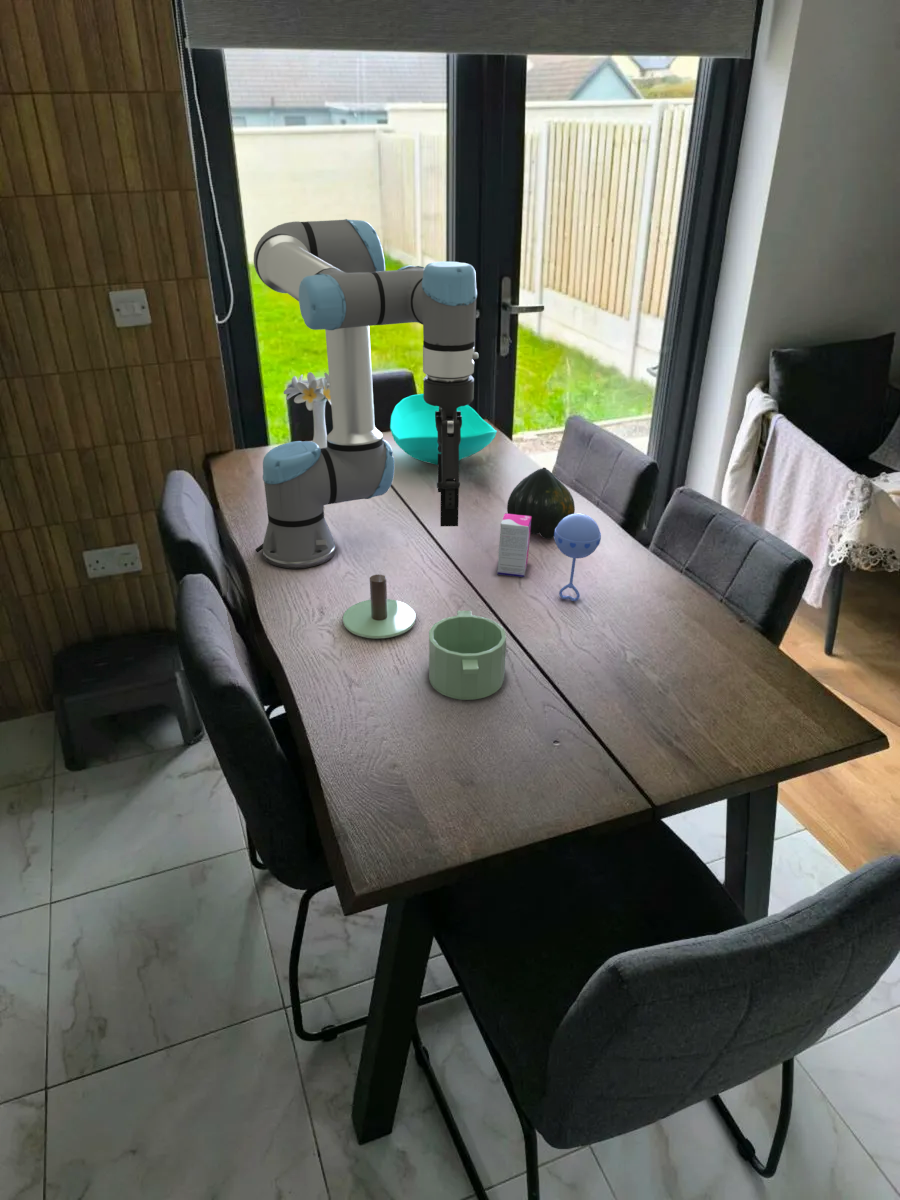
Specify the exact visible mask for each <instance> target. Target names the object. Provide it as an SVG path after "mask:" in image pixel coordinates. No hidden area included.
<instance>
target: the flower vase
mask: <svg viewBox="0 0 900 1200" xmlns="http://www.w3.org/2000/svg"><path fill="white" fill-rule="evenodd" d="M323 375H324V377H320V378H319V379H316V376H315V375H314V373H313V372H312V371H310V372H307V376H306V378H307V382H303V376H304V375H303V374H301V375H300V376H299V377H298V379H297V376H295V375H293V377H292V378H291V385H292V386H290V387H287V388H286V389H285V390H284V391H283V394H284V395H287V396H286V400H287V401H288V400H290V399H291V398H292V397H293V396H295V397H294V399H293V402H294V403H295V404H301V403H305V406H306V409H307V410H308V411H312V417H313V438H312V440H311V442H314V443H316V444H317V445H318V446H319V448H320V449H321V448H326V447H327V435H328V432H327V425H326V424H327V423H326V405H327V402H328V404H329V405H330V406H331V394H330V382H329V373H327V372H324V373H323ZM299 393H301V394H299Z"/></svg>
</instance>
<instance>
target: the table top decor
mask: <svg viewBox="0 0 900 1200" xmlns="http://www.w3.org/2000/svg"><path fill="white" fill-rule="evenodd" d="M435 411H439V406H432V405H430V404H428V403H426V402H425V400H424V393H417V394H412V395H409V396H407V397H404V398H402V399H401V400H400V401H399V402H398V403H397V404H396V405H395V406H394V408H393V410H392V413H391V414H390V421H389V422H390V423H389V429H390V433H391V435H392V438H393V440H394V443H396V445H397V446H398V447H399V448H400V449H401V450H402V451H403V452H404V453H406V454H407V455H408V456H410V457H411V458H412V459H415V460H417V461H421V462H424V463H428V464H432V465H436V466H438V454H441V452H439V451H438V446H439V445H438V443H437V440H438V431H437V429H436V422H435ZM457 411H461V416H462V427H461V429H460V431H461V441H460V444H459V461H461V460H462V459H465V458H468V457H471V456H474V455H475V454H477V453H479V452H481V451H482V450H484V449H485V448H486V447H488V446H489V445H490V444H491V443H492V441H494V440H495V438H496V435H497V433H498V431H497V430H496V429H495V428H494V427H493V426H492V425H491V424H490V423H489V422H487V421H486V420H485V419H483V418H482V417H481V416H480V414H479V413H478V412H477V411H476V410H475V409H474V408H473V407H471V406H470V404H468V405H466V406H460V407H458V408H457Z"/></svg>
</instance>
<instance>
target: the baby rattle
mask: <svg viewBox="0 0 900 1200" xmlns="http://www.w3.org/2000/svg"><path fill="white" fill-rule="evenodd" d="M553 539H554V542H555V544H556V547H557V548H558V550H559V552H561V553H562V554H563V555H564V556H566V557H568V558H571V559H572V562H571V568H570V576H569V583H567V584H566V585H564V586H563V587H561V589H560V590H559V591H558V595H559V597H560V599H562V600H569V601H572V602H577V601H578V600H580V598H581V594H580V591H579V590H578V588H577V587H576V586H575V585H574V575H575V568H576V561H577V559H584V558H586V557H589V556H590V555H592V554H593V553H594V552H595V551H596V550H597V548H598V546H600V544H601V540H602V533H601V530H600V527H599V524H598V523H597V522H596V520H594V519H593V518H592V517H591V516H590V515H587V514H584V513H577V512H576V513H574V514H571V515H568V516H566V517H565V518H563V519H562V520H561V521H560V522H559V524H558V525H557V527H556V528H555V532H554V537H553ZM567 589H572V591H574V593H575V595H576V597H572V596H571V595H564V594H563V592H564V591H565V590H567Z"/></svg>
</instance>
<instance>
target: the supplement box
mask: <svg viewBox="0 0 900 1200" xmlns="http://www.w3.org/2000/svg"><path fill="white" fill-rule="evenodd" d="M530 528H531V516H524V515H515V514H508V513H507V512H506V513H504V514H503V517H502V519H501V522H500V530H499V545H498V559H497V571H496V575H498V576H508V577H516V578H525V575H526V569H527V567H528V562H529V551H530V539H531V533H530Z"/></svg>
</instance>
